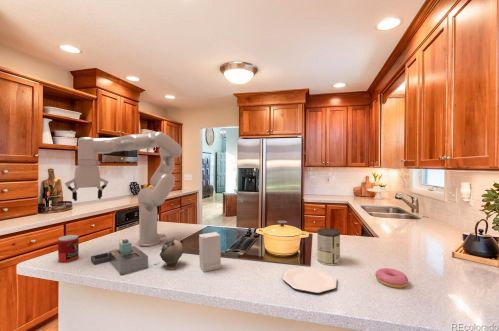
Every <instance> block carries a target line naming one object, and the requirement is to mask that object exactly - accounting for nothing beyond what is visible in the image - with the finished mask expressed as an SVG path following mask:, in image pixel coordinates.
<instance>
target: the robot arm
mask: <svg viewBox="0 0 499 331" xmlns="http://www.w3.org/2000/svg"><path fill="white" fill-rule="evenodd" d="M150 148H151V149H152V148H159V149H158V153H159V156H160V163H159V165H158V167H157V169H156V170H155V172H154V173H153V175H152V176H151V178H150V181H149V184H150V186H151V187H144V188H142V189H140V190H139V191H138V194H137V204H138V210H139V212H138V214H139V216H138V218H139V219H138V221H139V222H138V223H139V226H138V227H139V235H138V236H139V239H138V240H137V241H136V245H137V246H138V247H152V246H153V247H154V246H156V245H158V244H160V243H161V238H162V239H163V238H166V237H167V235H166V233H158V207H159V206H162V205H163V203H164V202H165V201H166V200H167V198H168V196H169V194H170V193H171V192H172V190H173V188H174V186H175V183H176V182H175V181H176V180H175V179H176V178H175V176H174V175H173V174H172V173H173V171H174V170H175V166H176V165H175V159H177V158H179V157H181V156H182V154H183V148H182V146H181V145H180V144H179V143H178V142H177V141H176V140H174V139H172V138H171V136H169V135H168V134H166V133H164V132H163V131H153V132H145V133H135V134H134V133H133V134H128V135H127V134H126V135H123V136H117V137H109V138H108V137H107V138H106V137H103V138H101V137H100V138H99V137H98V138H95V137H89V136H85V137H84V136H82V137H79V138H78V139H77V166H75V168H74V178H73V179H70V180H69V181H66V182H65V183H64V184H65V186H66V188H67V189H68V190H69V191H70V192H72V200H73V201H75V202H77V201H78V192H77V191H78V189H83V188H84V189H85V188H97V189H98V190H97V199H99V200H101V199H102V197H103V190H104V189H105V188H106V187H107V185H108V184H109V180H106V179H105V178H101V174H100V172H101V171H100V168H99V166H98V165H101V161H100V160H98V154H99V155H101V154H111V153H115V152H124V151H125V152H127V151H128V152H131V151H138V150H145V149H150ZM101 182H102V183H103V184H102V185H101ZM71 184H74V187H72V186H71Z"/></svg>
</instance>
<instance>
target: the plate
mask: <svg viewBox="0 0 499 331" xmlns="http://www.w3.org/2000/svg"><path fill="white" fill-rule="evenodd" d="M282 280H283V281H284V283H287V285H289V286H290V287H291V288H292V289H294V290H297V291H301V292H307V293H311V294H323V293H326V292H329V291H333V290H335V289H337V281H338V280H337V277H336V276H334V275H332V274H331V273H329V272H327V271H326V270H324V269H320V268H313V267H308V266H300V267H296V268H289V269H286V271H285V273H284V275H283V276H282Z"/></svg>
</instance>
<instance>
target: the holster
mask: <svg viewBox="0 0 499 331" xmlns="http://www.w3.org/2000/svg"><path fill="white" fill-rule="evenodd" d="M90 261H91V263H92V264H93V265H94V266H96V265H100V264H104V263H110V259H109V252H105V253H99V254H95V255H90Z"/></svg>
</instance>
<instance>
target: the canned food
mask: <svg viewBox="0 0 499 331" xmlns="http://www.w3.org/2000/svg"><path fill="white" fill-rule="evenodd" d="M57 239H58V240H57V255H58V256H57V260H58V263H62V264H64V263H65V264H66V263H71V262H74V261H78V259H79V254H80V253H79V246H80V245H79V243H80V242H79V240H80V239H79V235H77V234H69V235H63V236H60V237H58V238H57Z"/></svg>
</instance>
